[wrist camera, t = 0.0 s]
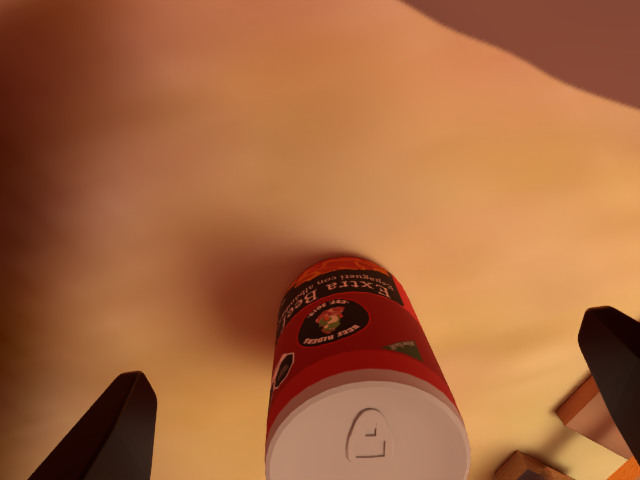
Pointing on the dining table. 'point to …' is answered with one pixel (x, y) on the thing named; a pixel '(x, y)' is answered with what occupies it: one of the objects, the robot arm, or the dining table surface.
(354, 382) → the canned food
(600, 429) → the hole board
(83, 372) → the dining table surface
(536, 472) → the gauge rail
